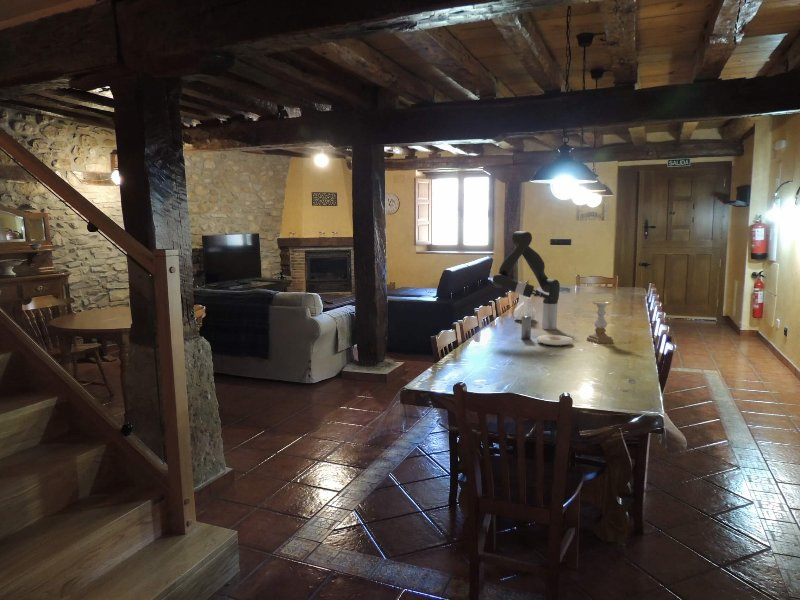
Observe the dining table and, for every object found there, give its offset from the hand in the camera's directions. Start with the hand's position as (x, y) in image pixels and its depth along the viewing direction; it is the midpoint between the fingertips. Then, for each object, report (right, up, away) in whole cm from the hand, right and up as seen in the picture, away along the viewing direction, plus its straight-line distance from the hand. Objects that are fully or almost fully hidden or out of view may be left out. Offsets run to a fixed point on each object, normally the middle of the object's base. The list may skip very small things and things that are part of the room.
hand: (550, 298), depth 333 cm
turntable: (+2, -25, -3) cm, 26 cm away
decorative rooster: (0, -16, +68) cm, 70 cm away
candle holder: (+30, -26, +2) cm, 40 cm away
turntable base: (+2, -27, -3) cm, 27 cm away
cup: (-12, -25, +10) cm, 30 cm away
